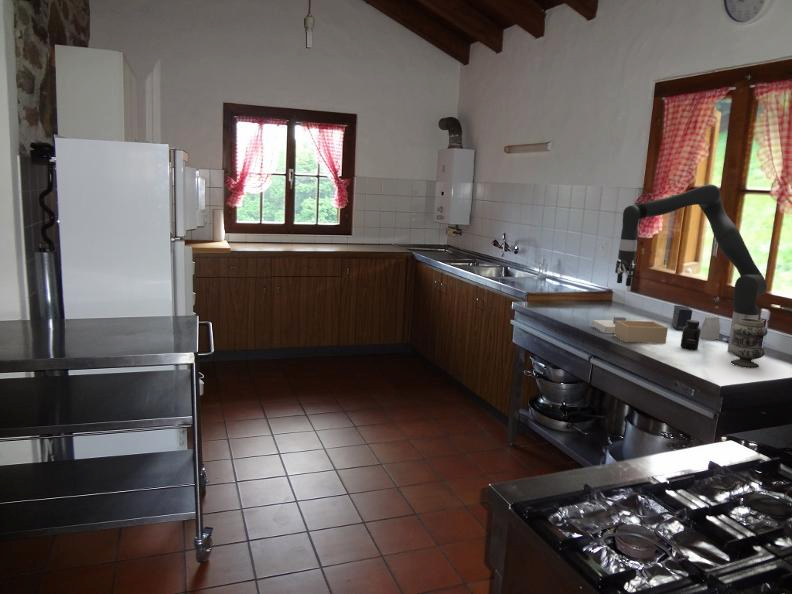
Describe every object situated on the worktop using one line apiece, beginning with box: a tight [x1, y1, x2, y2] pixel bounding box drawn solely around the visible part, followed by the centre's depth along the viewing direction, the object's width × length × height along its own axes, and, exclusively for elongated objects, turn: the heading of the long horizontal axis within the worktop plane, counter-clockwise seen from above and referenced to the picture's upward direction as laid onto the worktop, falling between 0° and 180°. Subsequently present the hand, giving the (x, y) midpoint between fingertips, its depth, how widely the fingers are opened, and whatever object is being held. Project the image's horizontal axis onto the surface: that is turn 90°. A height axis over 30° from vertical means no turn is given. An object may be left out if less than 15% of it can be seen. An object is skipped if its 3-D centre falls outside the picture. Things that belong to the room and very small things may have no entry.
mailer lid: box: [592, 316, 627, 333], centre depth 292 cm, size 14×20×6 cm
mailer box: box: [613, 320, 668, 344], centre depth 277 cm, size 12×18×7 cm, turn 97°
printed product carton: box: [700, 316, 721, 341], centre depth 285 cm, size 4×7×10 cm, turn 101°
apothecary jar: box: [729, 318, 768, 369], centre depth 243 cm, size 12×12×18 cm
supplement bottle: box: [680, 319, 701, 351], centre depth 265 cm, size 7×7×12 cm
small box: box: [670, 304, 693, 331], centre depth 304 cm, size 11×6×10 cm, turn 168°
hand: (623, 284), depth 289 cm, fingers open, 8 cm apart
